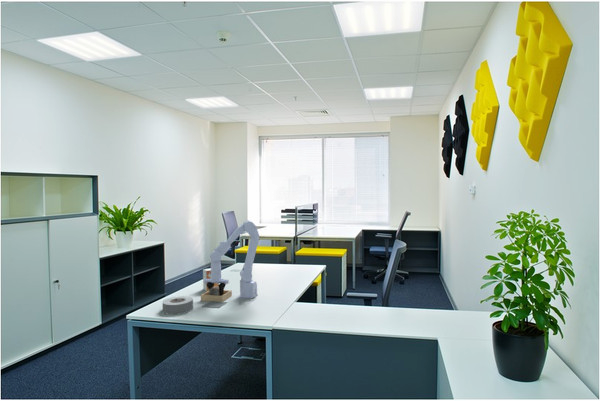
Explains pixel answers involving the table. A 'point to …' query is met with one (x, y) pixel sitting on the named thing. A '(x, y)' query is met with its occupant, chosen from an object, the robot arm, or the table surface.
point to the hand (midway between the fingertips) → (216, 295)
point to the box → (215, 291)
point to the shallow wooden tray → (216, 298)
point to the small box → (207, 276)
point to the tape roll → (177, 305)
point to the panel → (214, 304)
